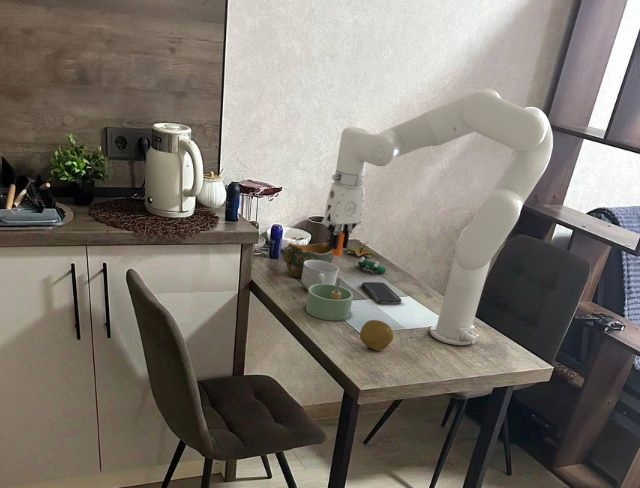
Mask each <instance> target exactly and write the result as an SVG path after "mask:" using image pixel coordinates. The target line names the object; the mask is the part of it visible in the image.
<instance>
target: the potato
mask: <svg viewBox="0 0 640 488" xmlns="http://www.w3.org/2000/svg"><path fill="white" fill-rule="evenodd" d="M359 339H360V341H361V343H362V344H364V345H365V346H366V347H367V348H369V349H371V350H373V351H376V352H377V351H382V350H385V349H387V348H388V347H389V345H390V344H391V343H392V342H393V340H394V331H393V329H392V327H391V326H390V325H389V324H388V323H386V322H384V321H382V320H378V319H370V320H368V321H366V322H365V323H364V324H363V326H362V327H361V329H360V331H359Z"/></svg>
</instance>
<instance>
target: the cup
mask: <svg viewBox="0 0 640 488" xmlns="http://www.w3.org/2000/svg"><path fill="white" fill-rule="evenodd" d="M331 253H332V248H331V247H329V242H318V243H311V244H297V243H292V242H289V243H288V244H287V246H285V247H284V248H283V249H282V253H281V254H282V258H283V261H284V262H285V264H286V269H287V271H288V273H289V275H290V276H291V277H294V278H297V279H302V272H303V266H304V262H305V261H307V260H320V261H325V262H328V263H331V264H332V262H333V259H334V256H335V255H332V254H331Z"/></svg>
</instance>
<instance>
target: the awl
mask: <svg viewBox="0 0 640 488" xmlns="http://www.w3.org/2000/svg"><path fill="white" fill-rule="evenodd" d="M340 280H341V278H337V279H336V285H337V286H336V290H335V291H332V295H331V299H332V300H340V296H341V292H339V290H338V287H339V286H340Z"/></svg>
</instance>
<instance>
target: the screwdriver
mask: <svg viewBox="0 0 640 488" xmlns="http://www.w3.org/2000/svg"><path fill="white" fill-rule="evenodd" d="M342 231H343V224H342V225H339V230H338V234H337V235H339V239H338V245H337V249H333V248H332V253H331V254H332V255H334V256H335V257H341V256H342V254H343V253H342V252H343V241H344V236H345V233H343V232H342Z"/></svg>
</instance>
